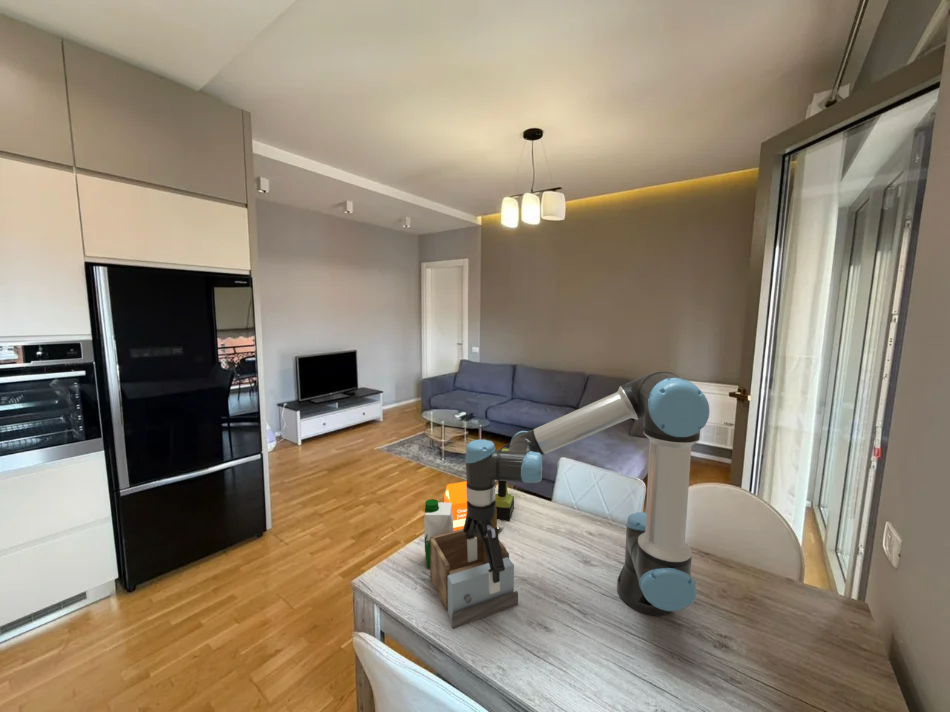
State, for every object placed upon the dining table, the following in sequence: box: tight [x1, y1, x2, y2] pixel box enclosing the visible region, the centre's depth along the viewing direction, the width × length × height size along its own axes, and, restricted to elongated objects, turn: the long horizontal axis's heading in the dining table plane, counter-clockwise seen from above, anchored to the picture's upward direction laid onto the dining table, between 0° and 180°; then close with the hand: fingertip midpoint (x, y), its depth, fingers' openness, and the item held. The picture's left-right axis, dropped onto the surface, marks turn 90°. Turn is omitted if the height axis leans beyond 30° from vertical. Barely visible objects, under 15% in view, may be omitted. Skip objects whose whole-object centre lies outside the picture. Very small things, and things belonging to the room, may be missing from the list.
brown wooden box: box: [429, 529, 519, 629], centre depth 110 cm, size 20×20×13 cm
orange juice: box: [443, 480, 467, 531], centre depth 135 cm, size 8×9×20 cm
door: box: [447, 557, 515, 622], centre depth 103 cm, size 5×18×11 cm, turn 114°
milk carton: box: [423, 498, 453, 569], centre depth 122 cm, size 9×9×20 cm
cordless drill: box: [495, 442, 515, 522], centre depth 154 cm, size 23×7×25 cm, turn 164°
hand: (482, 575), depth 103 cm, fingers open, 13 cm apart
